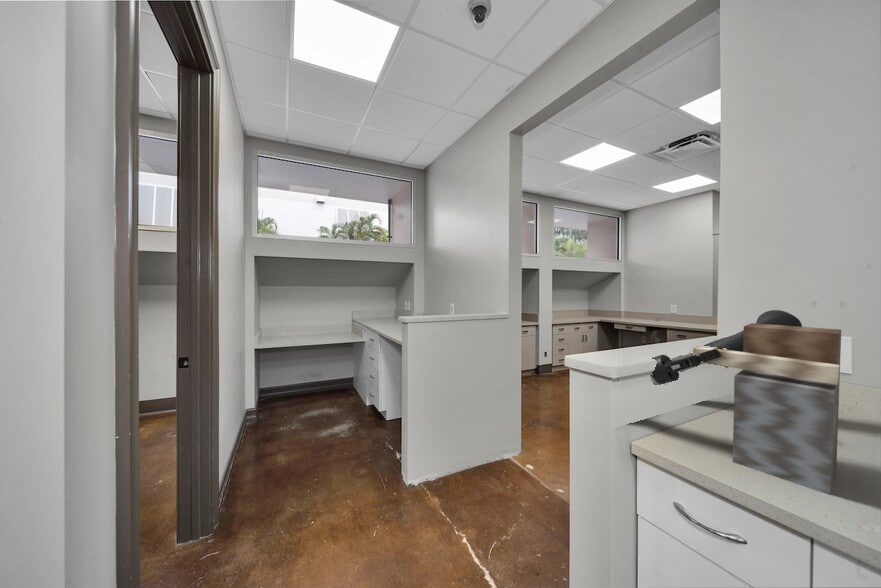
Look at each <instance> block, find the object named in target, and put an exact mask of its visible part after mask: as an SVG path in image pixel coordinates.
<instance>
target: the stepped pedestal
mask: <svg viewBox="0 0 881 588" xmlns="http://www.w3.org/2000/svg"><path fill="white" fill-rule="evenodd" d="M743 330H744V341H743V352H746V353H754V354H761V355H769V356H776V357H784V358H791V359H799V360H806V361H814V362H821V363H829V364H836V365H839V382H838V384H837V385H835V384H829V383H823V382H817V381H811V380H805V379H799V378H793V377H787V376H781V375H774V374H768V373H762V372H756V371H750V370H744V369H741V370H740V371H739V372H737V373H736V374H735V375H734V377H733V378H734V379H733V381H734V385H733V425H732V426H733V431H732V436H733V437H732V462H733V463H735V464H738V465H741V466H744V467H748V468H750V469H753V470H756V471H759V472H762V473H765V474H769V475H771V476H774V477H777V478H780V479H782V480H786V481H789V482H791V483H795V484H798V485H800V486H804V487H806V488H808V489H809V488H810V489H813V490H816V491H819V492H820V493H825V494H827V495H831V494H832V488H833V483H834V480H835V476H836V475H835V474H836V470H837V464H838V463H837V462H838V460H837V459H838V457H837V456H838V436H839V435H838V432H839V406H840V402H839V401H840V376H841V374H840V373H841V353H842V352H841V350H842V349H841V347H842V329H839V328H838V329H837V328H824V327H812V326H811V327H810V326H802V327H798V326H784V325H770V324H756V322H755V323H754V322H751V323H749V324H746V325H744V326H743Z"/></svg>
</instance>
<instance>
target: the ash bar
mask: <svg viewBox="0 0 881 588" xmlns="http://www.w3.org/2000/svg"><path fill="white" fill-rule="evenodd" d="M701 346H702V345H697V346H695V347H692V351H693V355H695V354H700V353H703V352H707V351H710V350H713V349H716V348H708V347H701ZM717 350H718V351H719V353H720V354H721V357H720V358H717V359H713V360H710V361H706V362H705V361H704V362H705V363H708V364H714V365H720V366H726V367H728V368H733V369H739V370H743V369H744V370H750V371H756V372H762V373H768V374H774V375H781V376H787V377H793V378H799V379H805V380H811V381H817V382H823V383H829V384H835V385H837V384H838V382H839V383H840V381H839V365H836V364H829V363H821V362H814V361H806V360H799V359H791V358H784V357H776V356H769V355H761V354H754V353H746V352H739V351H731V350H723V349H717Z"/></svg>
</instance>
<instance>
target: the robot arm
mask: <svg viewBox="0 0 881 588" xmlns="http://www.w3.org/2000/svg"><path fill="white" fill-rule="evenodd" d="M755 323H756V324H770V325H784V326H798V327H803V324H802V322H801V320H800V319H799V318H798V317H797V316H796V315H793V314H791V313H789V312H788V311H784V310H780V309H779V310H778V309H773V310H767V311H765V312H763V313H761V314H759V316H758V318H757V319H756V322H755ZM743 341H744V329H743V330H741V331H739V332H737V333H736V334H732V335H729V336H726V337H722V338H719V339H717V340H713V341H711V342H709V343H706V344H704V346H710V347H717V348H716V349H713V350H710V351H707V352H703V353H700V354H695V355H693V353H690V352H689V353H690V354H689V353H687V354H684V355H678V356H675V357H673V358H671V357H670V356H668V355H666V354H660V355H656V356H653V357H651V358H652V359H655V360H656V361H657V364H656V367H655V370H654V371H653V372H652V374H653V375H652V374H650V377H651V381H652V382H653V384H654V385H661V384H665V385H666V384H668V383H669V382H672V381H676V380H678V378H679V373H678V372H679V371H680V372H684V371H686V370H688V369H691V368H694V367H697V366H698V365H700V364H703V363H705V362H706V361H710V360H713V359H717V358H720V357H721V354H720V353H719V351H718V350H717V349H723V348H726V349H727V350H731V351H739V352H743ZM723 350H724V349H723ZM670 359H671V360H670ZM704 361H705V362H704ZM724 367H726V366H724ZM728 368H729V367H726V369H728Z"/></svg>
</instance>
